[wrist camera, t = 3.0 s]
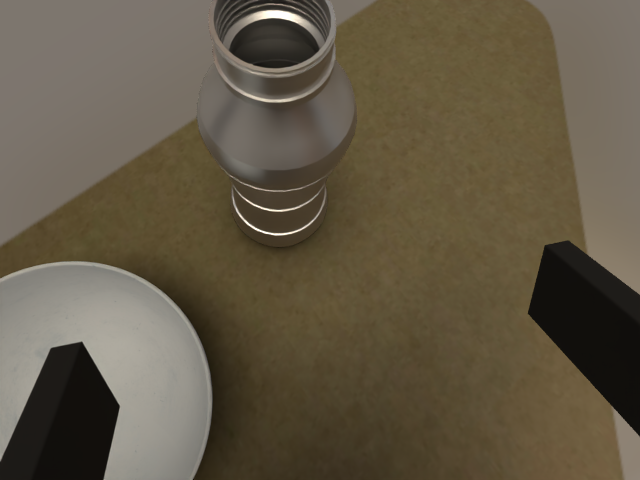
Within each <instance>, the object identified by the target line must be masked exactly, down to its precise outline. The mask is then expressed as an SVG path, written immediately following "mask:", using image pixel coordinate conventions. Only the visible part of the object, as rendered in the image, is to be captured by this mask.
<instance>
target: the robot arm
mask: <svg viewBox="0 0 640 480" xmlns="http://www.w3.org/2000/svg"><path fill="white" fill-rule="evenodd" d="M528 314H529V315H530V316H531V317H532V319H533V320H534V321H535V322H536V323H537V324H538V325H539V326H540V327H541V328H542V330H543V331H544V332H545V333H546V334H547V335H548V336H549V337H550V338H551V339H552V341H553V342H554V343H555V344H556V345H557V346H558V347H559V348H560V349H561V350H562V352H563V353H564V354H565V355H566V356H567V357H568V358H569V359H570V360H571V361H572V363H573V364H574V365H575V366H576V367H577V368H578V369H579V370H580V371H581V372H582V374H583V375H584V376H585V377H586V378H587V379H588V380H589V381H590V382H591V383H592V384H593V386H594V387H595V388H596V389H597V390H598V391H599V392H600V393H601V394H602V395H603V397H604V398H605V399H606V400H607V401H608V402H609V403H610V404H611V405H612V406H613V408H614V409H615V410H616V411H617V412H618V413H619V414H620V415H621V416H622V417H623V419H625V421H626V422H627V423H628V424H629V425H630V426H631V427H632V428H633V430H634V431H635V432H636V433H637V434H638V435H639V436H640V295H639V294H638V293H637V292H635V291H634V290H632V289H631V288H630V287H629V286H627V285H626V284H625V283H623V282H622V281H621V280H620V279H618V278H617V277H616V276H614V275H613V274H612V273H610V272H609V271H608V270H606V269H605V268H604V267H602V266H601V265H600V264H598V263H597V262H596V261H594V260H593V259H592V258H591V257H589V256H588V255H587V254H585V253H584V252H583V251H582V250H580V249H579V248H578V247H576V246H575V245H574V244H572V243H571V242H570V241H563V242H559V243H554V244H549V245H545V247H544V251H543V255H542V259H541V263H540V267H539V271H538V275H537V279H536V283H535V287H534V291H533V295H532V299H531V303H530V307H529V311H528ZM119 409H120V405H119V403H118V402H117V400H116V398H115V397H114V395H113V393H112V391H111V390H110V388H109V386H108V385H107V383H106V381H105V380H104V378H103V376H102V374H101V373H100V371H99V369H98V368H97V366H96V364H95V363H94V361H93V359H92V357H91V356H90V354H89V352H88V351H87V349H86V347H85V346H84V344H83V342H82V341H81V342H77V343H72V344H67V345H62V346H57V347H52V348H51V349H50V351H49V353H48V355H47V358H46V360H45V362H44V364H43V367H42V369H41V371H40V373H39V376H38V378H37V380H36V382H35V385H34V387H33V389H32V391H31V394H30V396H29V398H28V400H27V403H26V405H25V407H24V409H23V411H22V414H21V416H20V418H19V420H18V423H17V425H16V427H15V429H14V432H13V434H12V436H11V438H10V441H9V443H8V445H7V447H6V450H5V452H4V454H3V456H2V459H1V461H0V480H104V476H105V471H106V467H107V462H108V458H109V453H110V449H111V445H112V440H113V436H114V431H115V427H116V422H117V418H118V414H119Z"/></svg>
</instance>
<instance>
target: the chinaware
mask: <svg viewBox="0 0 640 480" xmlns="http://www.w3.org/2000/svg"><path fill="white" fill-rule="evenodd" d="M81 341H82V342H83V344H84V346H85V347H86V349H87V351H88V352H89V354H90V356H91V357H92V359H93V361H94V363H95V364H96V366H97V368H98V369H99V371H100V373H101V374H102V376H103V378H104V380H105V381H106V383H107V385H108V386H109V388H110V390H111V391H112V393H113V395H114V397H115V398H116V400H117V402H118V403H119V405H120V409H119V414H118V418H117V422H116V427H115V431H114V436H113V440H112V445H111V449H110V453H109V458H108V462H107V467H106V471H105V476H104V480H193V479H194V476H195V474H196V472H197V470H198V467H199V465H200V462H201V460H202V457H203V454H204V451H205V448H206V444H207V440H208V436H209V431H210V426H211V418H212V403H213V395H212V381H211V374H210V369H209V364H208V361H207V357H206V354H205V351H204V348H203V346H202V343H201V341H200V339H199V337H198V335H197V333H196V331H195V329H194V327H193V326H192V324H191V322H190V321H189V319H188V318H187V317H186V315H185V314H184V313H183V311H182V310H181V309H180V308H179V307H178V306H177V304H176V303H175V302H174V301H173V300H172V299H171V298H169V297H168V296H167V295H166V294H165V293H164V292H163V291H161V290H160V289H159V288H157V287H156V286H154V285H153V284H151V283H150V282H148V281H147V280H145V279H143V278H141V277H139V276H137V275H135V274H133V273H130V272H128V271H125V270H123V269H120V268H116V267H113V266H109V265H105V264H99V263H93V262H80V261H69V262H55V263H48V264H43V265H38V266H33V267H30V268H26V269H23V270H20V271H17V272H14V273H12V274H9V275H7V276H5V277H2V278H0V461H1V459H2V456H3V454H4V452H5V450H6V447H7V445H8V443H9V441H10V438H11V436H12V434H13V432H14V429H15V427H16V425H17V423H18V420H19V418H20V416H21V414H22V411H23V409H24V407H25V405H26V403H27V400H28V398H29V396H30V394H31V391H32V389H33V387H34V385H35V382H36V380H37V378H38V376H39V373H40V371H41V369H42V367H43V364H44V362H45V360H46V358H47V355H48V353H49V351H50V349H51V348H52V347H57V346H62V345H67V344H72V343H77V342H81Z"/></svg>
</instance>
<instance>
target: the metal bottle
mask: <svg viewBox="0 0 640 480" xmlns="http://www.w3.org/2000/svg"><path fill="white" fill-rule="evenodd" d="M209 31H210V36H211V40H212V43H213V57H214V63H213V64H212V65H211V67H210V68H209V70H208V72H207V73H206V75H205V77H204V79H203V82H202V86H201V89H200V93H199V99H198V106H197V121H198V127H199V131H200V134H201V136H202V139H203V141H204V143H205V145H206V147H207V148H208V150H209V152H210V154H211V155H212V156H213V158H214V159H215V161H216V162H217V164H218V165H219V166H220V167H221V168H222V169H223V171H224V172H225V173H226V174H227V175H228V176H229V178H230V180H231V182H232V188H231V203H230V205H231V211H232V215H233V217H234V220H235V222H236V223H237V225H238V226H239V228H240V229H241V230H242V231H243V232H244V233H245V234H246V235H247V236H248V237H250V238H252V239H253V240H255V241H256V242H259V243H261V244H264V245H266V246H272V247H286V246H292V245H294V244H297V243H300V242H301V241H303V240H305V239H306V238H308V237H309V236H311V235H312V234H313V233H314V232H315V231H316V230H317V229H318V227H319V226H320V225H321V223H322V221H323V219H324V217H325V215H326V210H327V189H326V185H325V184H326V180H327V178H328V176H329V174H330V173H331V172H332V171H333V169H334V168H335V167H336V166H337V164H338V163H339V162H340V160H341V159H342V158H343V156H344V155H345V153H346V151H347V149H348V147H349V145H350V143H351V141H352V138H353V136H354V133H355V128H356V124H357V107H356V102H355V97H354V93H353V89H352V85H351V82H350V80H349V78H348V76H347V74H346V72H345V71H344V69H343V68H342V67H341V66H340V64H339V63H338V62H337V60H335V43H334V42H335V35H336V20H335V13H334V9H333V6H332V4H331V2H330V0H212V3H211V6H210V9H209Z"/></svg>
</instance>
